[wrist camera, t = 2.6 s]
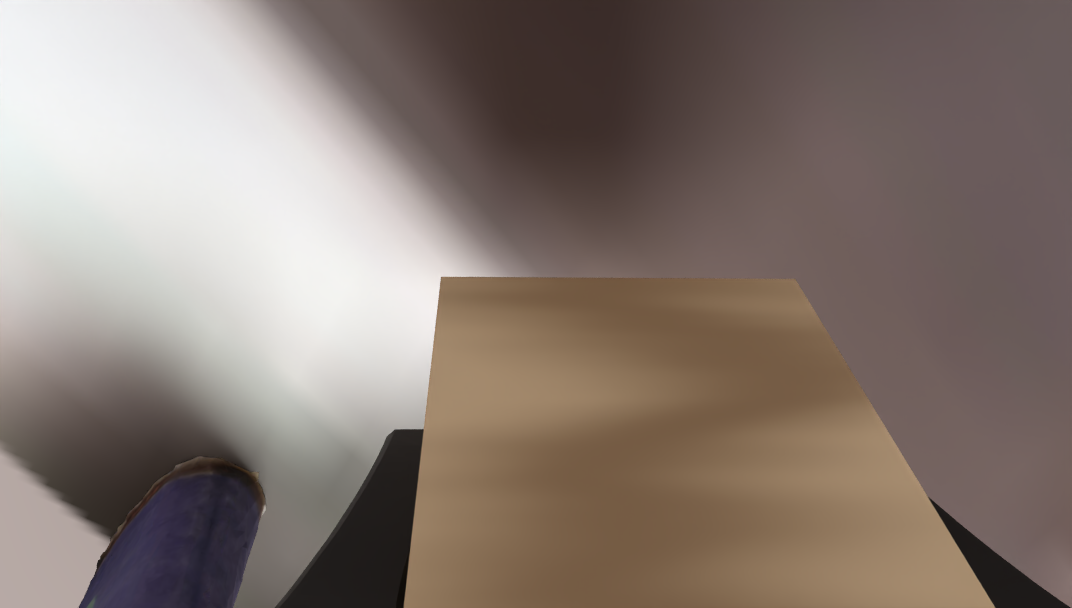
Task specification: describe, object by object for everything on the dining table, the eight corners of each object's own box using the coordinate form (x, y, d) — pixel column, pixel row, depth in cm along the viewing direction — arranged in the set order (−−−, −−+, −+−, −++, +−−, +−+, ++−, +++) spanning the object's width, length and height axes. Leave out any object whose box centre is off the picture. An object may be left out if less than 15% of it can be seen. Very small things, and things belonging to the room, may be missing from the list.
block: (794, 279, 13) (999, 616, 8) (745, 539, 15) (873, 928, 10) (441, 277, 13) (402, 622, 7) (448, 541, 15) (423, 940, 10)
